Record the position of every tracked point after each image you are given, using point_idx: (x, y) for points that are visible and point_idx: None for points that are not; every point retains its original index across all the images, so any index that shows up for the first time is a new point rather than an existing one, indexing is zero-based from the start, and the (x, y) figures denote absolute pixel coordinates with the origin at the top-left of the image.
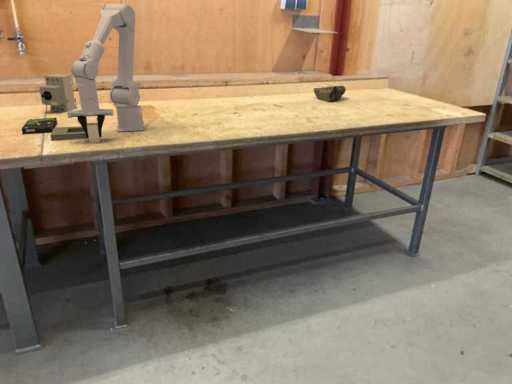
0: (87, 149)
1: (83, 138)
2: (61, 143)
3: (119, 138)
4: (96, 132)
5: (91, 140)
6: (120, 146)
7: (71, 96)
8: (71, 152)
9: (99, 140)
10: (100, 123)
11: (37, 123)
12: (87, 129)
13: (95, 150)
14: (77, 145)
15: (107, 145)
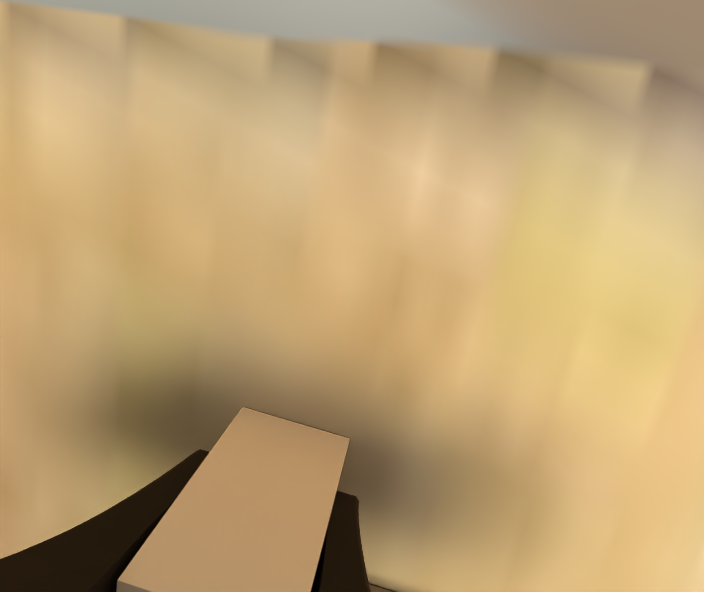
0: (424, 179)
1: (380, 589)
2: (638, 555)
3: (44, 424)
4: (213, 492)
5: (320, 444)
6: (36, 119)
7: None
8: (654, 136)
9: (236, 416)
10: (37, 574)
11: None
12: (314, 571)
13: (338, 82)
14: (496, 400)
15: (176, 235)
